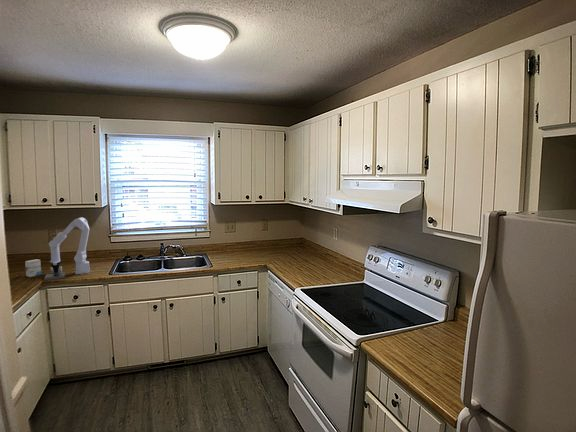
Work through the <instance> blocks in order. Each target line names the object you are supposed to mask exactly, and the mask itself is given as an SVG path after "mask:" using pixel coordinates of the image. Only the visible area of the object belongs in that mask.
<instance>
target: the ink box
mask: <svg viewBox="0 0 576 432" xmlns="http://www.w3.org/2000/svg"><path fill="white" fill-rule="evenodd" d="M24 265H25V274H26V275H25V276H26V277H28V278H32V277H35V276H40V275H42V265H41V259H31V260H25V264H24Z"/></svg>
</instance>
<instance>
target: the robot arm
mask: <svg viewBox="0 0 576 432" xmlns="http://www.w3.org/2000/svg"><path fill="white" fill-rule="evenodd" d="M75 228H79V230H80V231H81V234H80V238H79V244H78V248H77V249H78V250H77V251H76V254H75V255H74V257H73V260H74V262H75V273H74V274H75V275H81V274H82V275H83V274H89V273H90V271H91V268H90V261H88V260H86V259H87V256H88V255H87V244H88V239H89V235H90V226H89V223H88V220H87V218H85V217H82V216H81V217H78V218H75V219H73V221H71V222H70V223H69V224H68V226H66V228H65V229H64V230H63V231H62V232H61V231H60V232H58V233H56V236H55V237H53V238H52V240H50V241H49V242H48V246H49V247H50V260H49V263H51V264H50V267H52V268H53V270H54V273H58V268H59V267H60V265H61V252H60V251H61V250H60V246H61V243H62V242H63V241H64V240H65V239H66V238H67V235H68V234H69V233H70V232H71V231H72V230H73V229H75Z"/></svg>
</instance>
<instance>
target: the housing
mask: <svg viewBox="0 0 576 432" xmlns="http://www.w3.org/2000/svg"><path fill="white" fill-rule="evenodd" d="M58 273H63V266H62V265H61V266H60V265H59V268H58ZM50 274H54V270H53V268H52V266H50Z"/></svg>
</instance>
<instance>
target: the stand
mask: <svg viewBox="0 0 576 432" xmlns="http://www.w3.org/2000/svg"><path fill="white" fill-rule="evenodd" d="M65 275H66V272H62V273H54V274H51V273H48V274H45V276H44V277H43V278H44V281H53V280H61V279H64V278H65V277H66V276H65Z"/></svg>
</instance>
